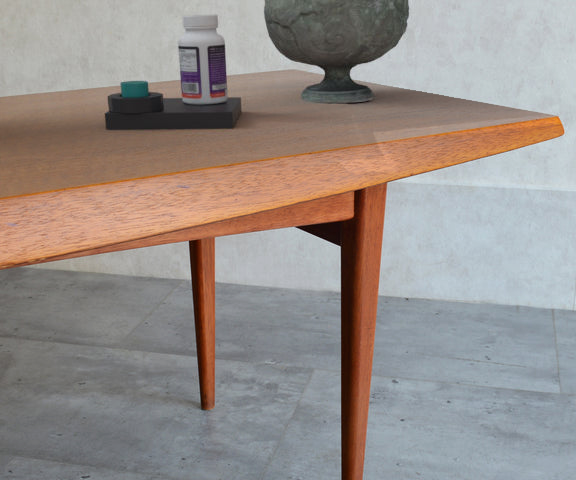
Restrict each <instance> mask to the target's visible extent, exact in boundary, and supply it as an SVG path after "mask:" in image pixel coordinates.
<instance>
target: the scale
mask: <svg viewBox="0 0 576 480" xmlns="http://www.w3.org/2000/svg"><path fill="white" fill-rule="evenodd" d="M107 105H108V111H106V112H104V121H105V129H106V131H144V130H145V131H146V130H147V131H148V130H152V131H153V130H155V131H157V130H234V128H235V126H236V124H237V123H238V120H239V118H240V117H241V114H242V98H241V97H240V96H237V97H235V96H234V97H232V96H231V97H230V96H229V97H228V96H227V101H226V102H223V103H219V104H207V105H192V104H186V103H184V102H183V100H182V97H164V94H163V93H161V92H157V91H149V96H144V97H122V95H121V92H118V93H112V94H109V95H108V96H107Z"/></svg>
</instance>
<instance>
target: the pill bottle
mask: <svg viewBox="0 0 576 480" xmlns="http://www.w3.org/2000/svg"><path fill="white" fill-rule="evenodd" d="M218 17H219V16H218V14H185V15H182V27H183V29H184V31H185V33H184V34H183V35H181V36H180V37H179V38H178V40H177V47H178V61H179V75H180V89H181V98H182V100H183V102H184V103H186V104H192V105H207V104H219V103H223V102H226V101H227V97H228V79H227V78H228V77H227V57H226V42H225V41H226V40H225V37H224V36H223V35H222V34H219V33H218V32H217V29H218V28H219V18H218Z"/></svg>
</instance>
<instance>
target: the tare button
mask: <svg viewBox="0 0 576 480" xmlns="http://www.w3.org/2000/svg"><path fill="white" fill-rule="evenodd" d="M119 84H120V93H121V95H122V97H144V96H149V92H150V90H149V82H148V81H147V80H125V81H121V82H120V83H119Z"/></svg>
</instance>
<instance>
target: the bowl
mask: <svg viewBox="0 0 576 480" xmlns="http://www.w3.org/2000/svg"><path fill="white" fill-rule="evenodd" d="M263 15H264V16H263V18H264V21H265V22H264V23H265V26H266V30H267V34H268V37H269V39H270V41H271V42H272V44H273V45H274V47H275V49H276V50H277V52H279V53H280V54H281V55H282V56H284V57H285V58H286V59H288V60H290V61H292V62H296V63H301V64H305V65H308V66H309V65H310V66H315V67H317V68H320V69H322V70H323V72H324V75H323V76H324V77H323V79H322V80H321V81H320V82H318V83H315V84H311V85H308V86H306V87H305V88H304V89H303V90H302V92H301V100H302V101H303V102H304V101H305V102H308V103H317V104H345V103H346V104H348V103H349V104H350V103H362V102H367V101H373V100H374V92H373V90H372V89H371V88H370V87H369V86H368V85H365V84H360V83H357V82H356V81H354V80H353V79H352V77H351V70H352V69H353V68H355V67H356V66H358V65H362V64H368V63H371V62H374V61H376V60H378V59H381V58H382V57H383V56H384V55H386V54H387V53H388V52H390V51H391V50H392V49H394V48H395V47H397V45H398V44H399V42H400V40H401V38H402V37H403V36H404V34H405V33H406V31H407V28H408V19H409V17H410V3H409V0H264V7H263Z"/></svg>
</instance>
